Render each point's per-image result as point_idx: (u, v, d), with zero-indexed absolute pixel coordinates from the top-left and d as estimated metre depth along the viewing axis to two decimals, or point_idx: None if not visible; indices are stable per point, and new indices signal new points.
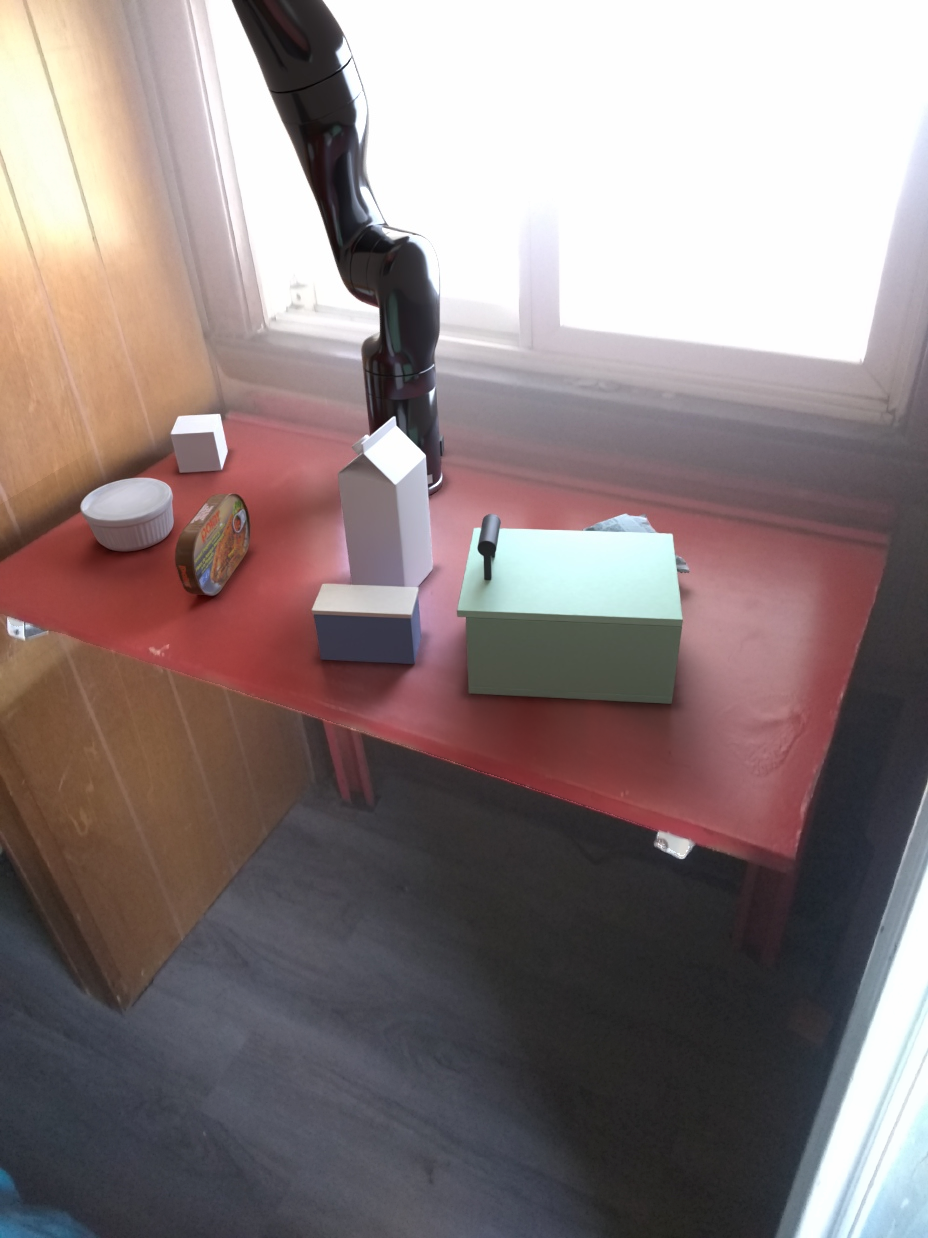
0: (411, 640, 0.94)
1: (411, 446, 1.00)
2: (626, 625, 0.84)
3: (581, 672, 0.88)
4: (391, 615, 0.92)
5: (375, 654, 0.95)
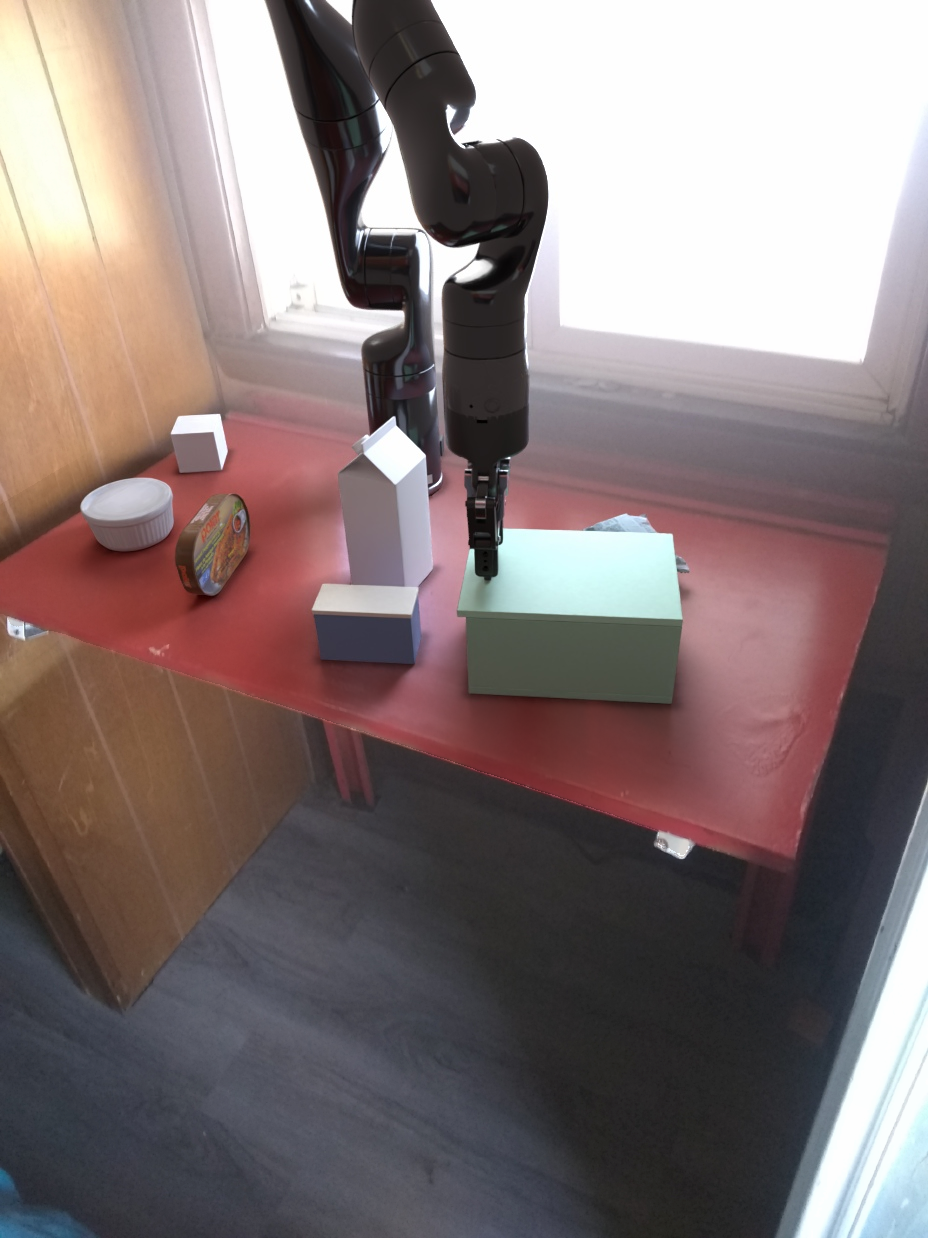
0: (411, 640, 0.94)
1: (411, 446, 1.00)
2: (626, 625, 0.84)
3: (581, 672, 0.88)
4: (391, 615, 0.92)
5: (375, 654, 0.95)
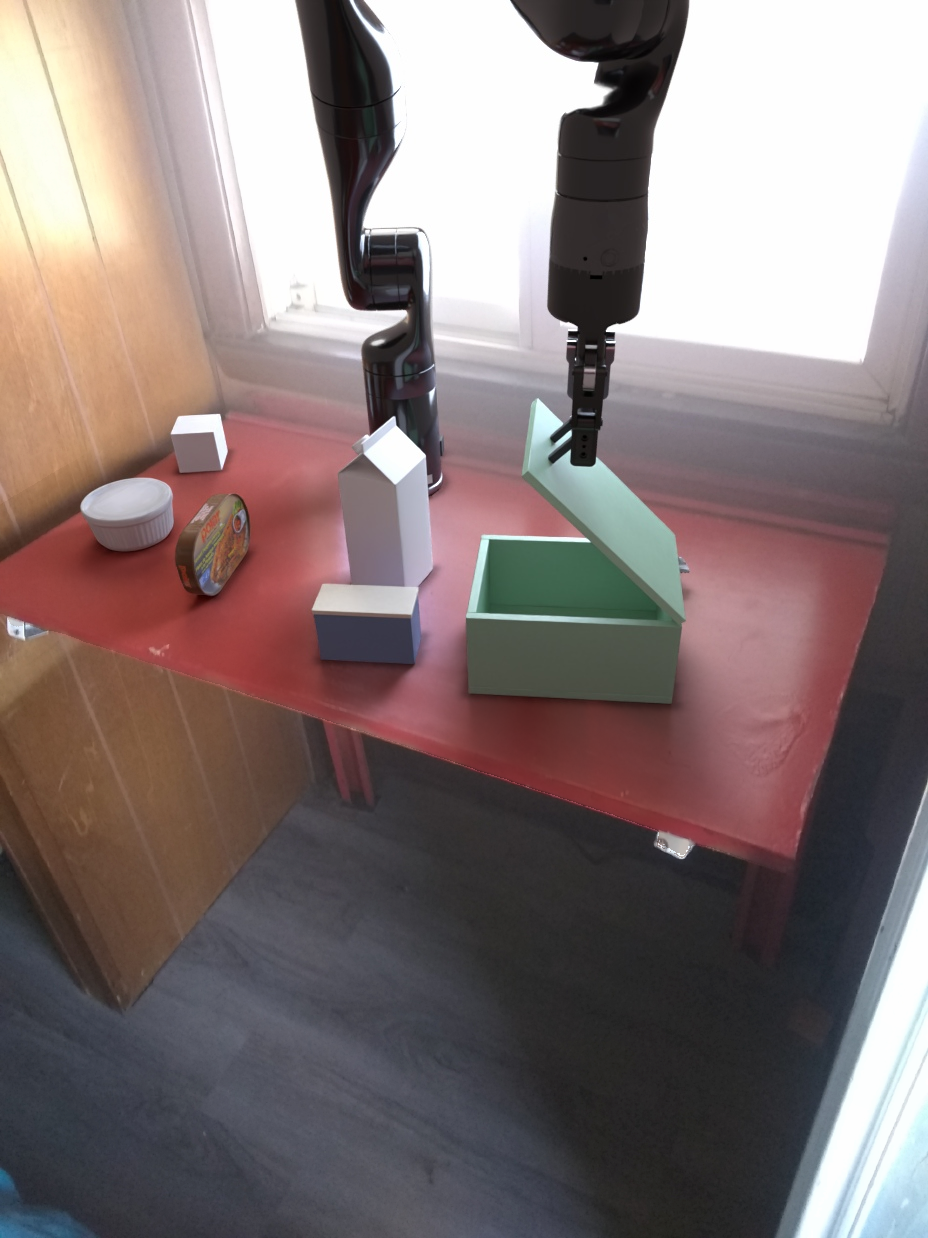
0: (411, 640, 0.94)
1: (411, 446, 1.00)
2: (626, 625, 0.84)
3: (581, 672, 0.88)
4: (391, 615, 0.92)
5: (375, 654, 0.95)
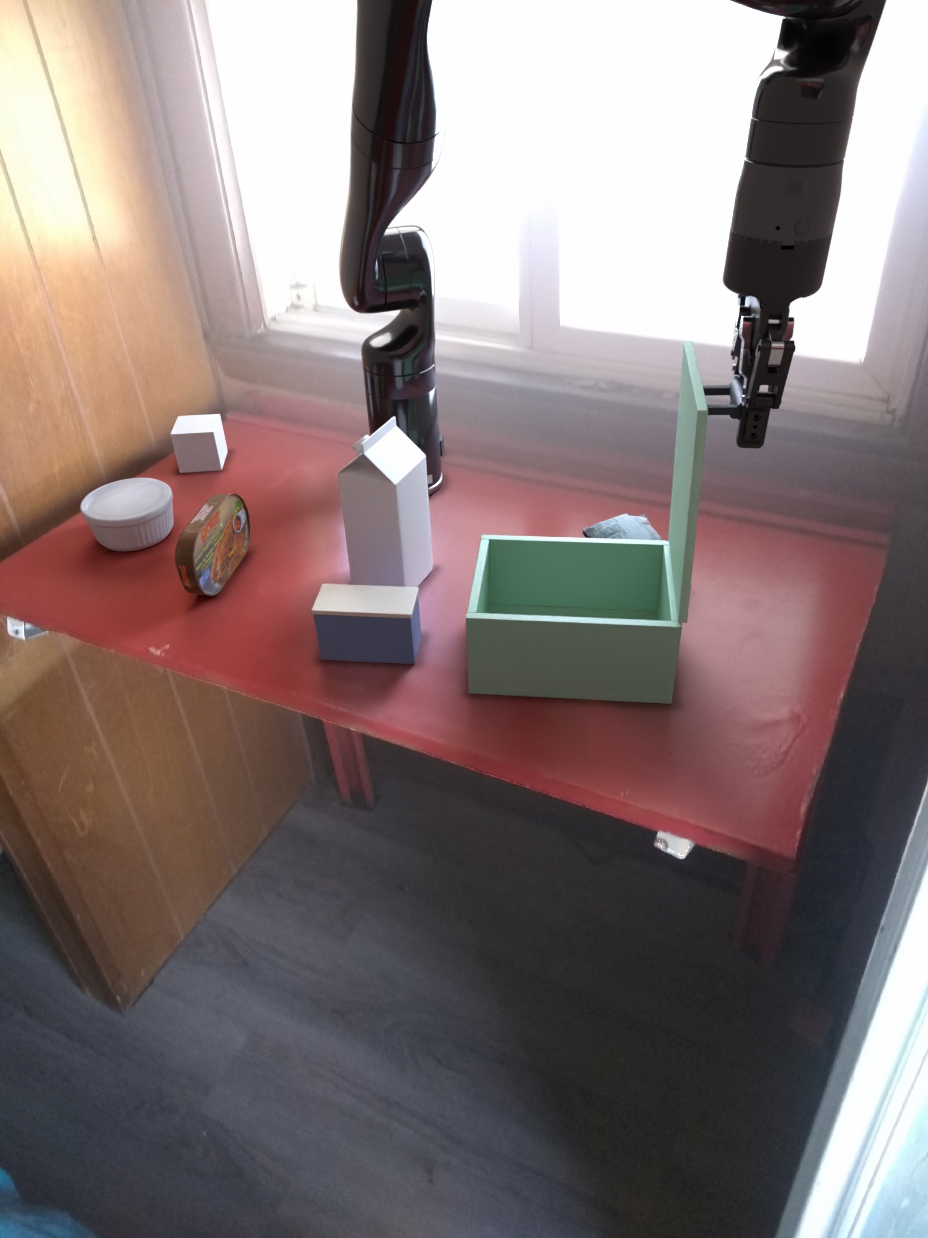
0: (411, 640, 0.94)
1: (411, 446, 1.00)
2: (626, 625, 0.84)
3: (581, 672, 0.88)
4: (391, 615, 0.92)
5: (375, 654, 0.95)
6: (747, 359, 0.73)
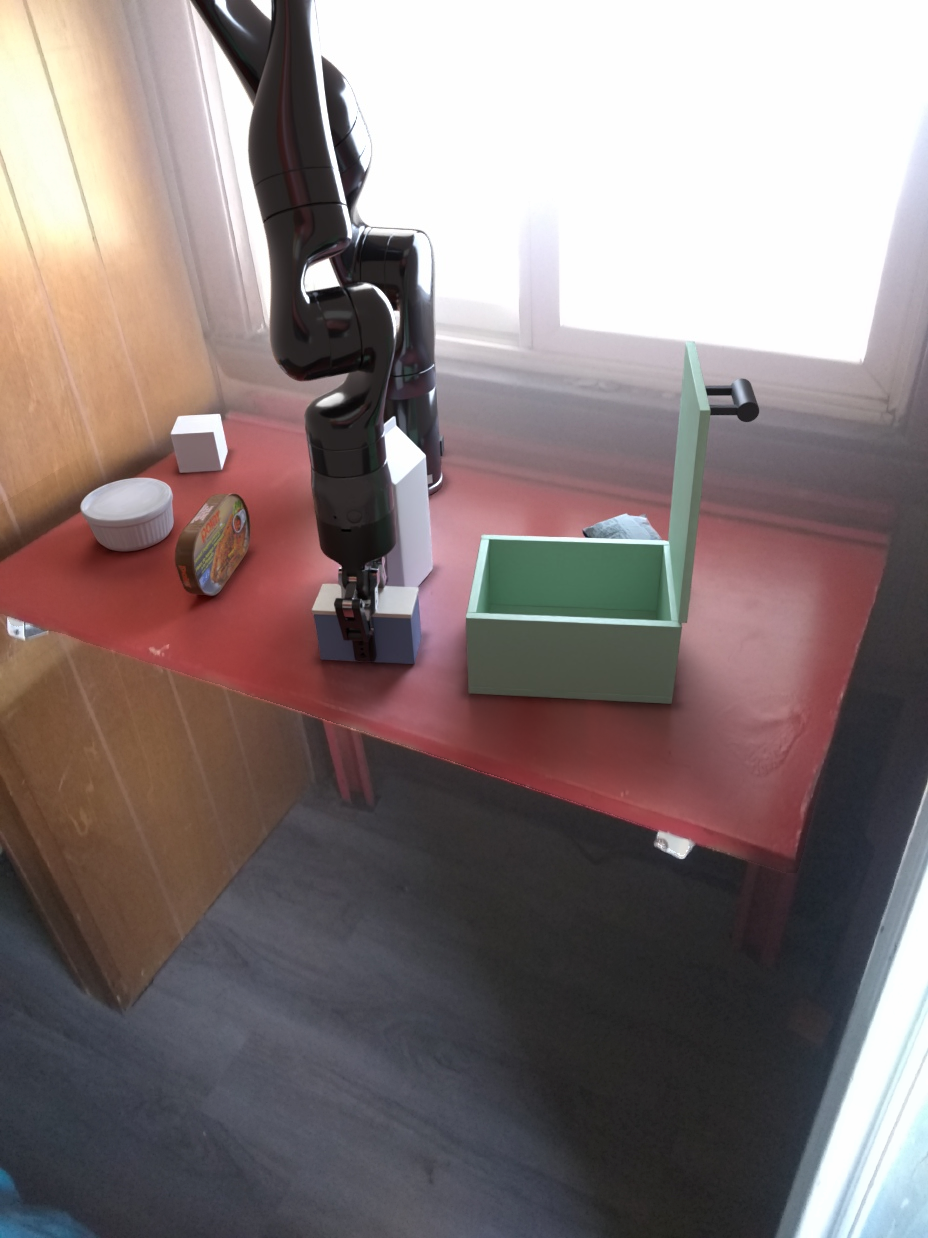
0: (411, 640, 0.94)
1: (411, 446, 1.00)
2: (626, 625, 0.84)
3: (581, 672, 0.88)
4: (391, 615, 0.92)
5: None
6: None
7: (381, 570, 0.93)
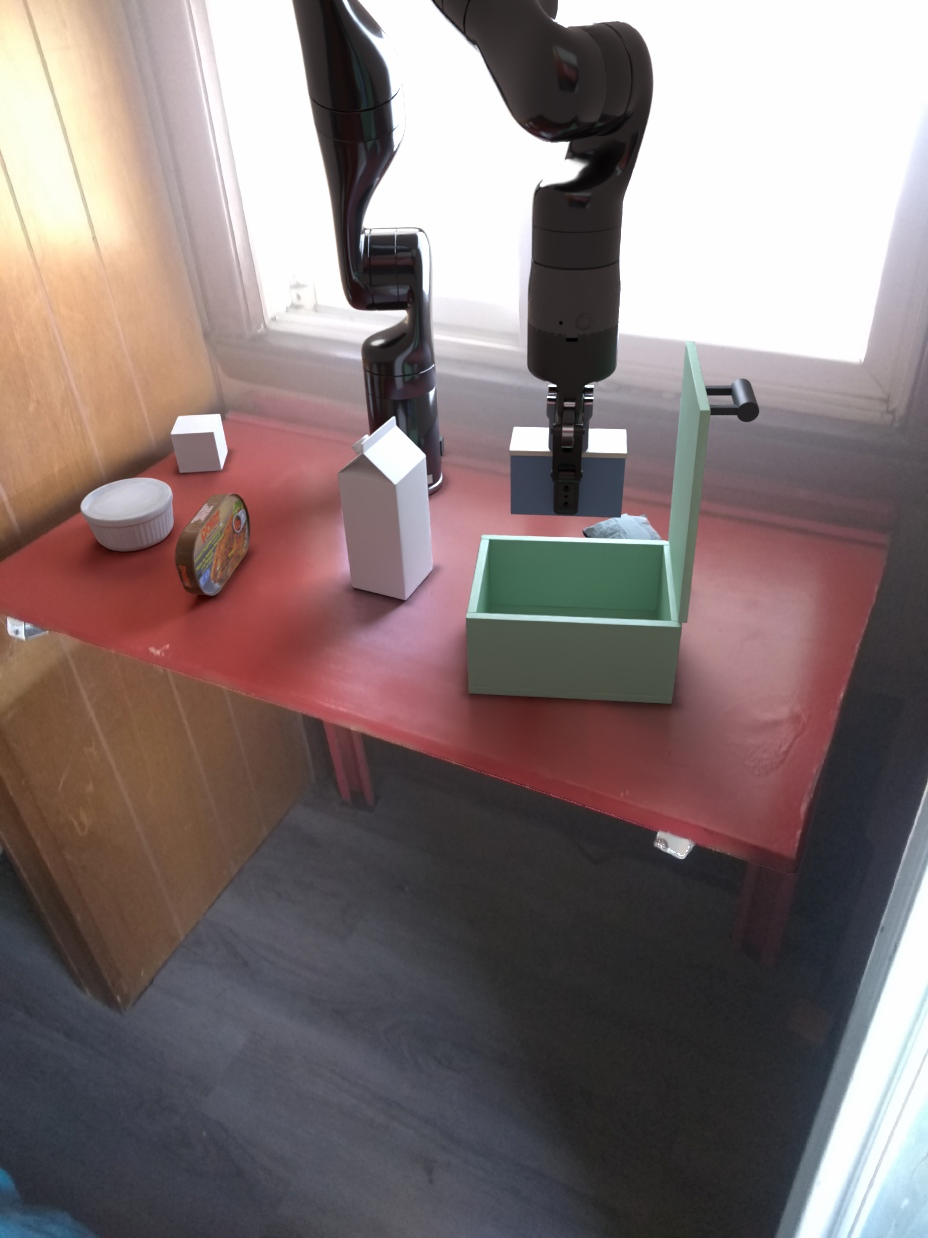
0: (622, 487, 0.81)
1: (411, 446, 1.00)
2: (626, 625, 0.84)
3: (581, 672, 0.88)
4: (603, 454, 0.79)
5: None
6: (553, 436, 0.79)
7: None
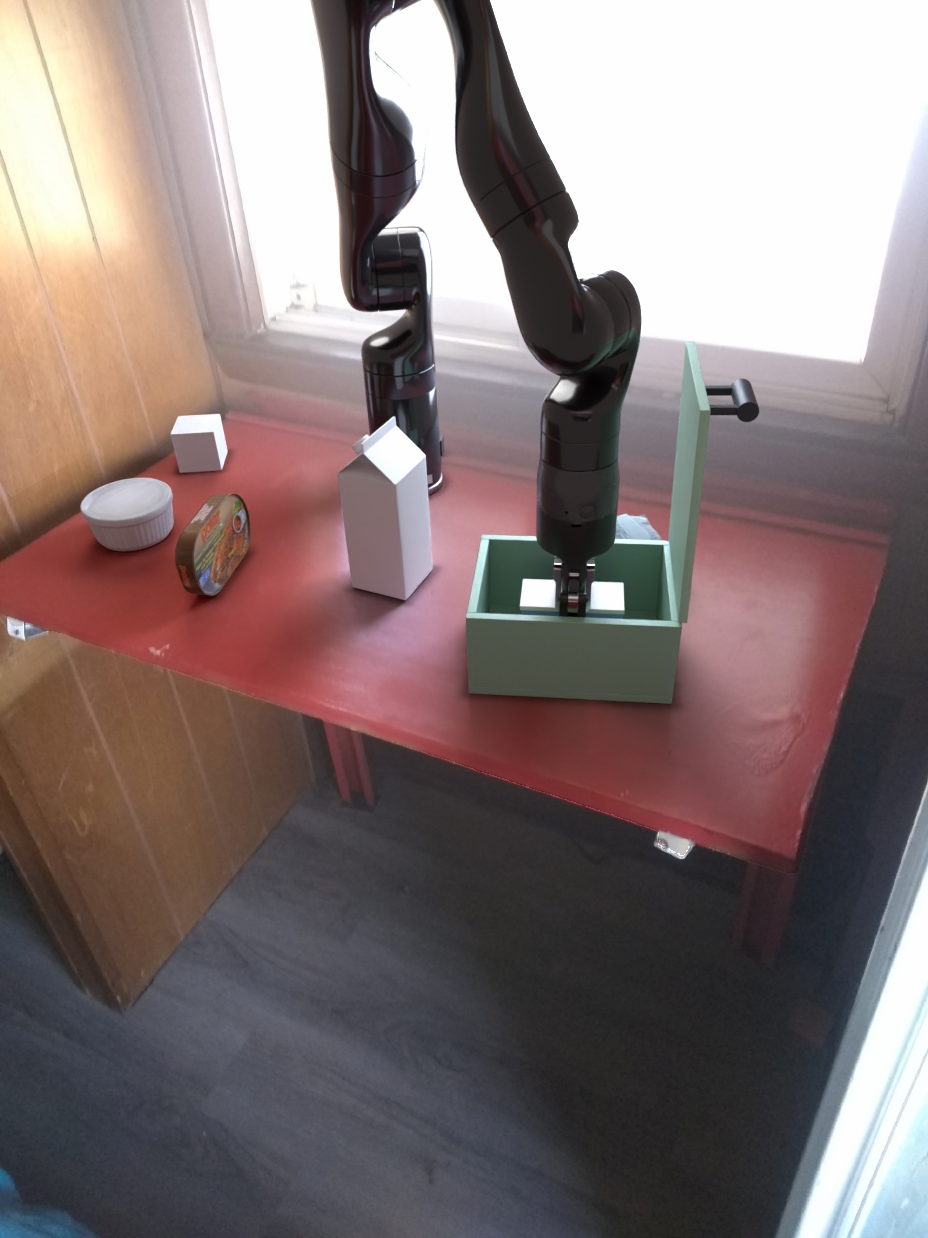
0: None
1: (411, 446, 1.00)
2: (626, 625, 0.84)
3: (581, 672, 0.88)
4: (603, 611, 0.90)
5: None
6: None
7: None
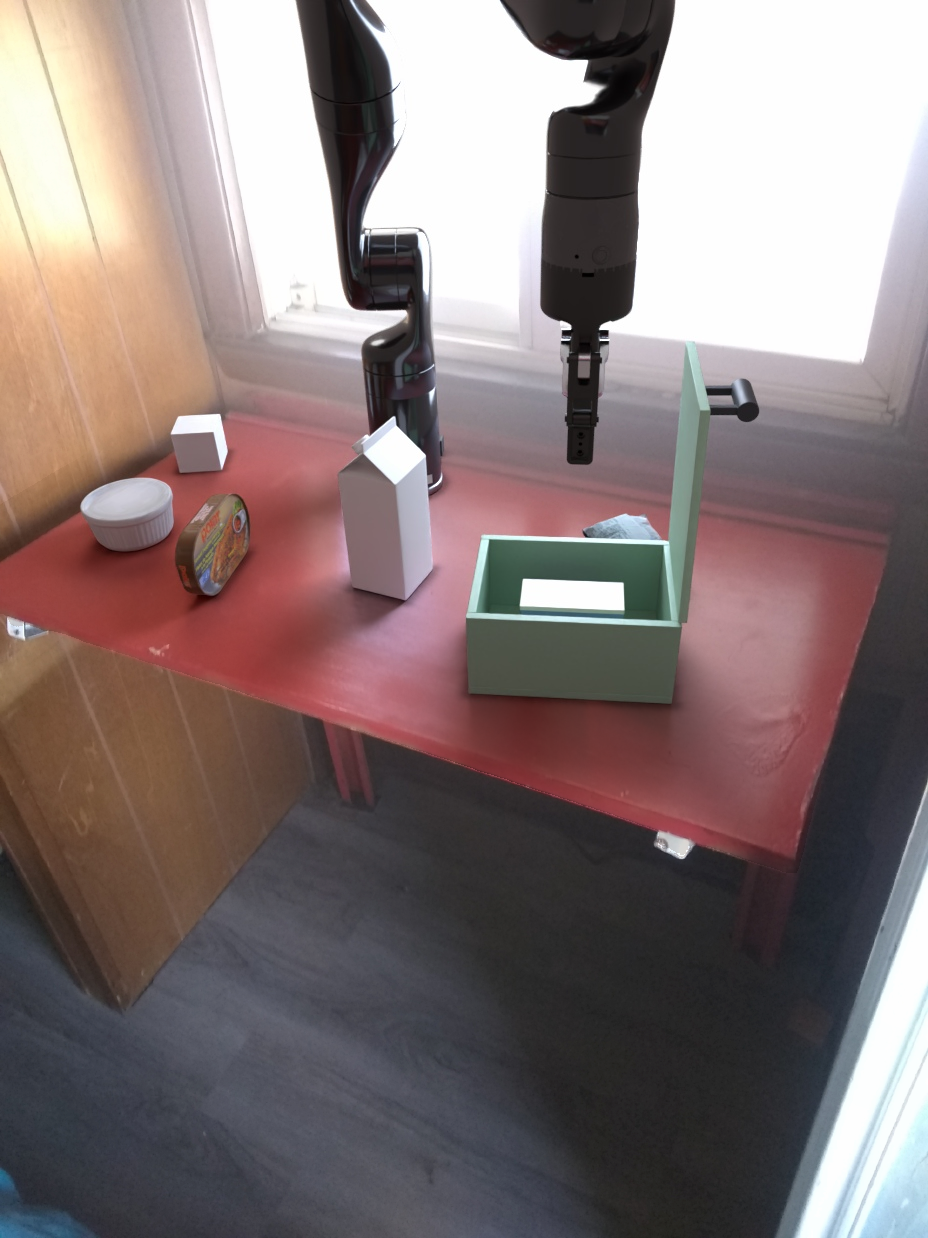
0: None
1: (411, 446, 1.00)
2: (626, 625, 0.84)
3: (581, 672, 0.88)
4: (603, 611, 0.90)
5: None
6: None
7: None
